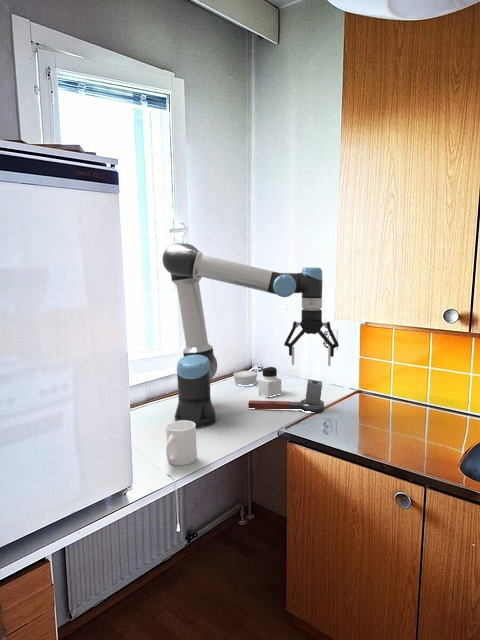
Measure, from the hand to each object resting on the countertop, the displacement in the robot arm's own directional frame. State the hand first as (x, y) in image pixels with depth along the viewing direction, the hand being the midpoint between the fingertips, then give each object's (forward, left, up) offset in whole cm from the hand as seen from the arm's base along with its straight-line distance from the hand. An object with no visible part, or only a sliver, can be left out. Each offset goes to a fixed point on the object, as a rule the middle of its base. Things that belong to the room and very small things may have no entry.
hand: (311, 364), depth 176 cm
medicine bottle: (-18, +18, -18) cm, 31 cm away
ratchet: (-10, 0, -18) cm, 20 cm away
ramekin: (-31, +34, -18) cm, 49 cm away
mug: (-38, -50, -18) cm, 65 cm away
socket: (+1, 0, -15) cm, 15 cm away
